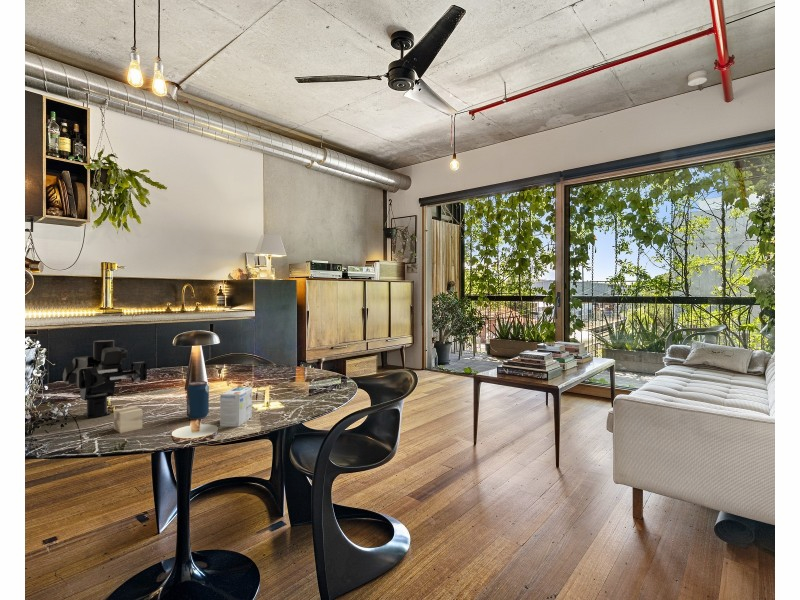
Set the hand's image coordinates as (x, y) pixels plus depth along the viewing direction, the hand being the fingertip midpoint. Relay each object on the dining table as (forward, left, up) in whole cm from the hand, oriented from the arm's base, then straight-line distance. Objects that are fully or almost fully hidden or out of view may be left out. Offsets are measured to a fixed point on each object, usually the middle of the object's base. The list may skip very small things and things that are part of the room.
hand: (122, 378), depth 126 cm
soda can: (+3, +22, -17) cm, 28 cm away
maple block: (-1, +2, -17) cm, 17 cm away
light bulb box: (+18, +28, -17) cm, 37 cm away
